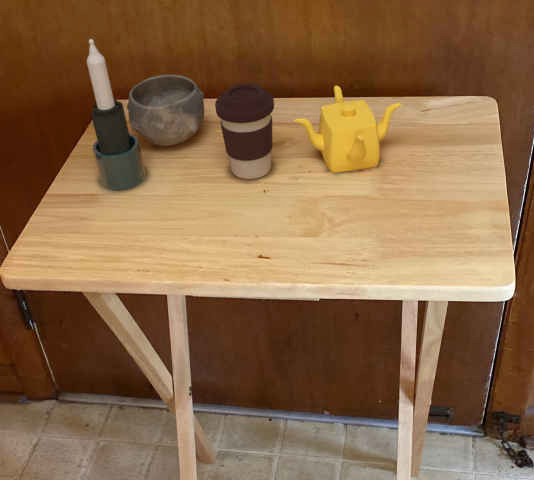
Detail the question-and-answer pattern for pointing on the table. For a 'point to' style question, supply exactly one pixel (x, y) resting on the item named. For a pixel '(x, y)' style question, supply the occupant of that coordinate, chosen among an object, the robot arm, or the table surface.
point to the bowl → (166, 109)
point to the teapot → (348, 134)
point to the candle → (106, 108)
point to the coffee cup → (247, 129)
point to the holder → (121, 167)
